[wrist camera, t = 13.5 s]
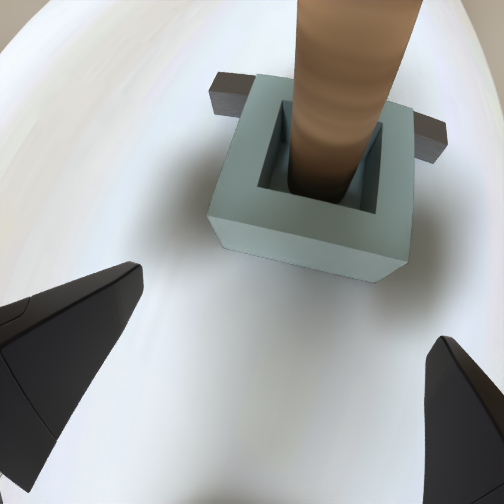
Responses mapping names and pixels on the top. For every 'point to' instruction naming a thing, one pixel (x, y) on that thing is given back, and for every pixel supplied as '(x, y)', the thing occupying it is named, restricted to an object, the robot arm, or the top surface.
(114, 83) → the top surface
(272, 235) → the socket block
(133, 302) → the robot arm
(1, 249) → the top surface
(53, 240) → the top surface
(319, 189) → the dowel
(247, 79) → the backstop bar
